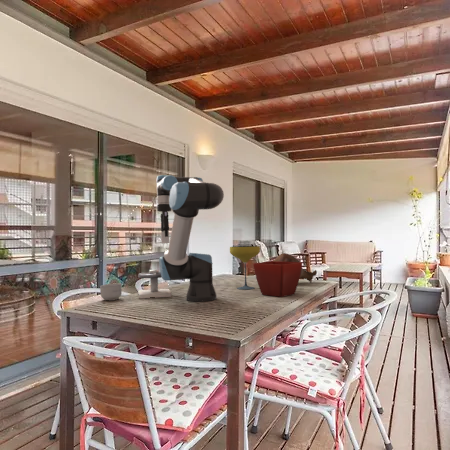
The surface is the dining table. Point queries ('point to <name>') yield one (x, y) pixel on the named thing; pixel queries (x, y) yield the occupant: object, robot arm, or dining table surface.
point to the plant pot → (277, 277)
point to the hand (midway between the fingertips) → (165, 243)
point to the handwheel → (150, 274)
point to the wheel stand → (154, 290)
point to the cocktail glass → (245, 258)
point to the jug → (290, 258)
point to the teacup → (111, 291)
